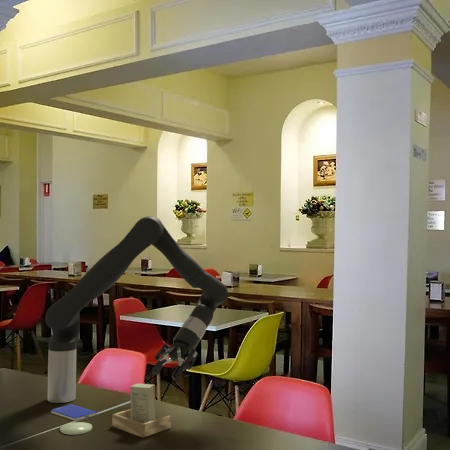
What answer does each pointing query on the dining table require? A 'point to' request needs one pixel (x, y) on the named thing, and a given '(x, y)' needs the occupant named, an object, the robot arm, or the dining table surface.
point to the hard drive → (73, 412)
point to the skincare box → (142, 402)
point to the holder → (139, 424)
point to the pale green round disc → (76, 428)
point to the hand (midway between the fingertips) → (163, 375)
